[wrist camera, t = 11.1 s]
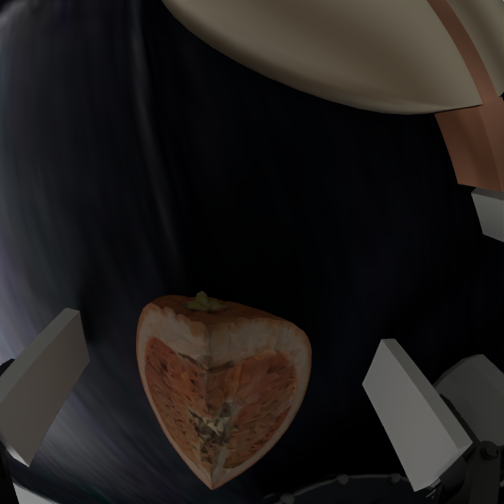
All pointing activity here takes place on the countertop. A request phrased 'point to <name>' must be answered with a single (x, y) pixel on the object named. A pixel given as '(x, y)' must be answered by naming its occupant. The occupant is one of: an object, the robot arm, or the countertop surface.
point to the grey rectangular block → (490, 211)
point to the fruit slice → (221, 380)
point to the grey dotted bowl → (353, 491)
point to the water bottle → (476, 396)
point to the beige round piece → (378, 61)
